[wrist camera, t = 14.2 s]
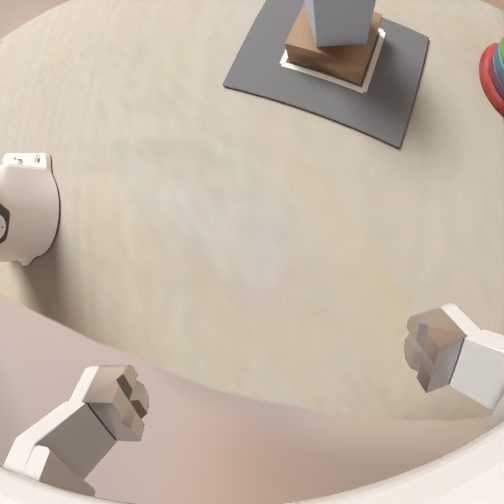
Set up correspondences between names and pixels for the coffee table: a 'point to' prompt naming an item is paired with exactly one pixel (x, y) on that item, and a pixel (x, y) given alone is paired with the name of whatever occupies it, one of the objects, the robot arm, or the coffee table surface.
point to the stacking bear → (493, 74)
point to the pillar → (339, 21)
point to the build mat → (329, 86)
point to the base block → (330, 50)
